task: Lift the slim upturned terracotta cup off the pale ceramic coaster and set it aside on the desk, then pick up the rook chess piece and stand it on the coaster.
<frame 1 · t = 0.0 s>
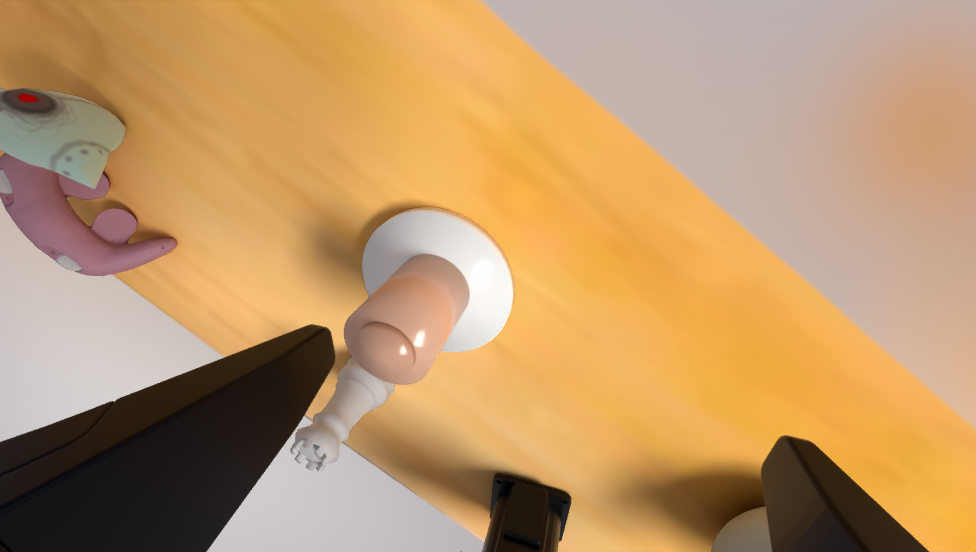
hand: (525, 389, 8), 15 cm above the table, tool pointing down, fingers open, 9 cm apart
coaster: (439, 280, 26), on the table
cup: (433, 288, 25), point 1 cm above the table, touching coaster
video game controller: (128, 196, 31), on the table
air freshener: (790, 528, 28), on the table
rook chess piece: (374, 371, 32), on the table
robot head: (123, 118, 27), on the table
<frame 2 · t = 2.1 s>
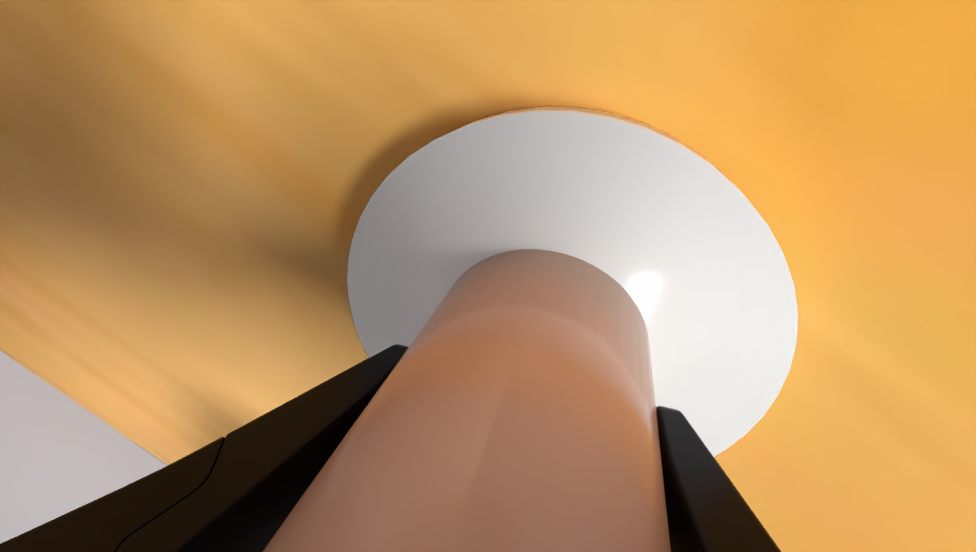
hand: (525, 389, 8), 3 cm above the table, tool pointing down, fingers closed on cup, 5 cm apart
coaster: (544, 318, 10), on the table
cup: (538, 342, 9), point 1 cm above the table, touching coaster, gripper
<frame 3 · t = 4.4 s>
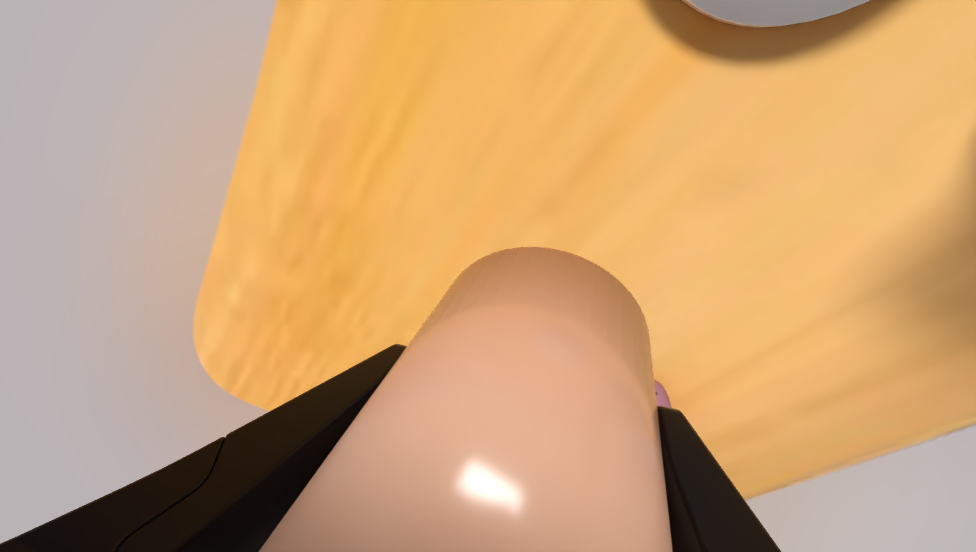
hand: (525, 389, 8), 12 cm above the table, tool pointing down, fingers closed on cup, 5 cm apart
cup: (538, 341, 9), point 11 cm above the table, touching gripper
when the fingers open (3 cm above the table, at t = 6.4 s): cup drops 2 cm, on the table.
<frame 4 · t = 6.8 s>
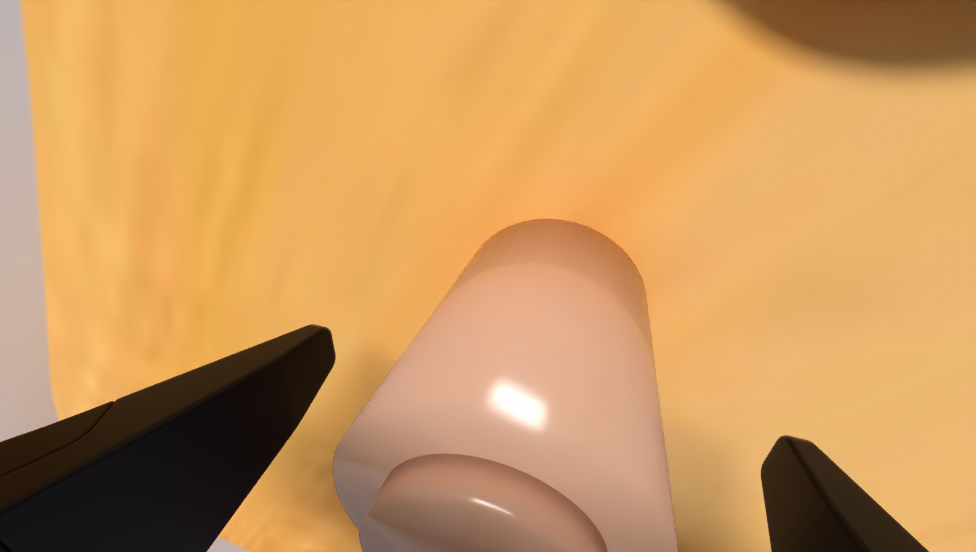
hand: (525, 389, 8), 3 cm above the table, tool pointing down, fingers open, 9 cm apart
cup: (549, 304, 10), on the table
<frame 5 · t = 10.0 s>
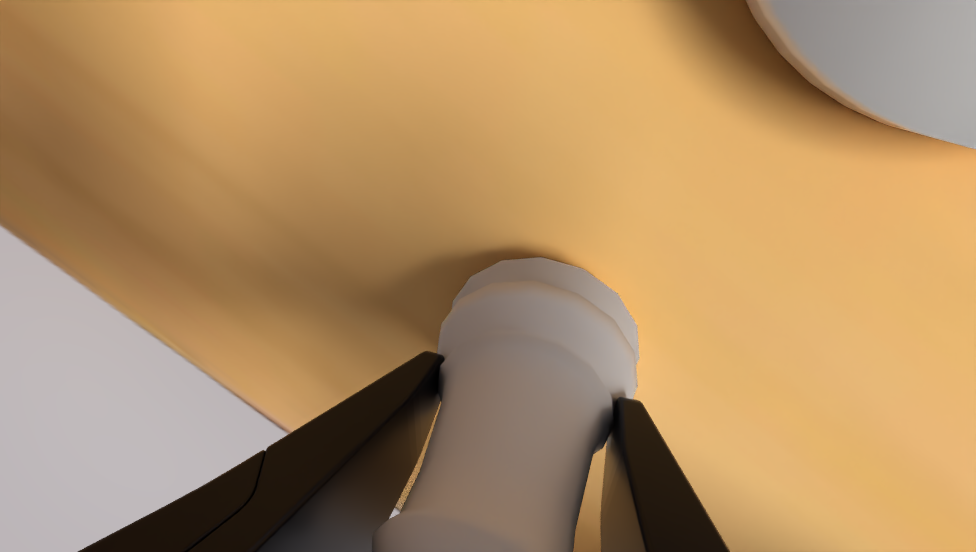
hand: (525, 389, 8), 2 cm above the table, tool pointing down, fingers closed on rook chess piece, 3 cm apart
rook chess piece: (542, 325, 10), on the table, touching gripper
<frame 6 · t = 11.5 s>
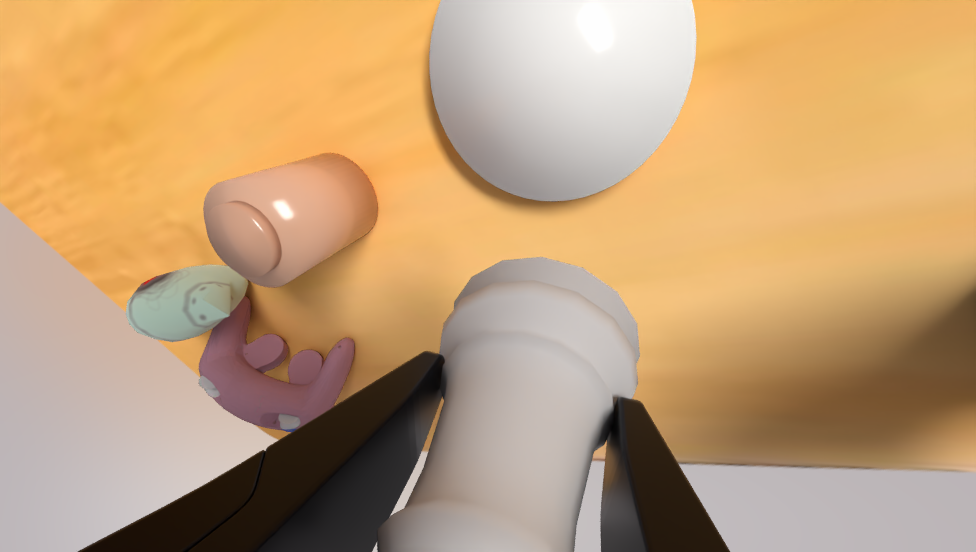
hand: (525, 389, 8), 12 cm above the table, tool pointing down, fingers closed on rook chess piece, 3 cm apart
coaster: (553, 73, 16), on the table
cup: (339, 197, 22), on the table
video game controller: (302, 340, 29), on the table
rook chess piece: (544, 325, 10), point 10 cm above the table, touching gripper
robot head: (241, 270, 27), on the table
when the fingers open (4 cm above the table, at t = 13.4 s): rook chess piece drops 1 cm, resting on coaster.
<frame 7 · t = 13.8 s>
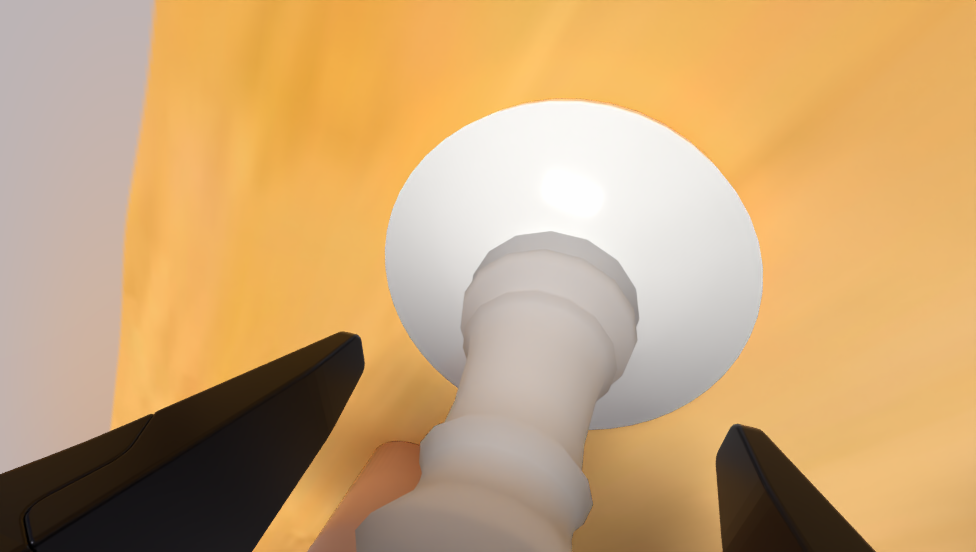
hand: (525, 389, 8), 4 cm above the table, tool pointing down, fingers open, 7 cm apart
coaster: (554, 282, 12), on the table
cup: (416, 479, 19), on the table
rook chess piece: (553, 296, 11), point 1 cm above the table, touching coaster
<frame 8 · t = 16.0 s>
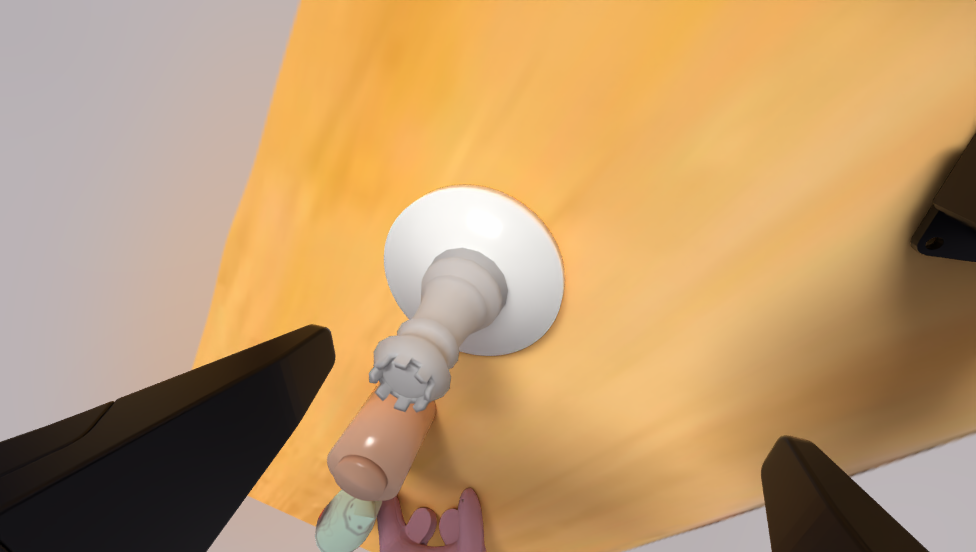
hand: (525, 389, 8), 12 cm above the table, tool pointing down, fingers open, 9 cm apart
coaster: (474, 273, 22), on the table
cup: (405, 402, 29), on the table
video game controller: (441, 502, 35), on the table
rook chess piece: (470, 280, 21), point 1 cm above the table, touching coaster
robot head: (375, 471, 35), on the table
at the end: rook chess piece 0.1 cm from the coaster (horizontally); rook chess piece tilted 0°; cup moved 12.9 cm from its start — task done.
